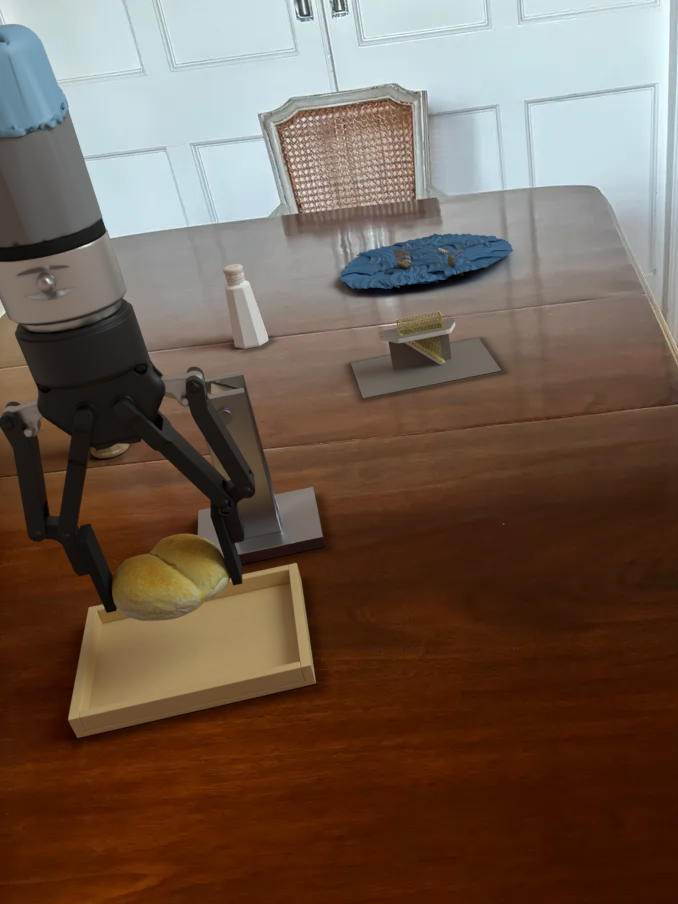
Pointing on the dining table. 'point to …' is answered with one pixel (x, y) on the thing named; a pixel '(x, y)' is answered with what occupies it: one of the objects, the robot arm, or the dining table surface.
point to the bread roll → (170, 579)
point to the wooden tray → (193, 655)
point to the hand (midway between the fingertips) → (175, 588)
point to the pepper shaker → (243, 310)
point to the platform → (422, 358)
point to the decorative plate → (423, 260)
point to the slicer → (260, 487)
